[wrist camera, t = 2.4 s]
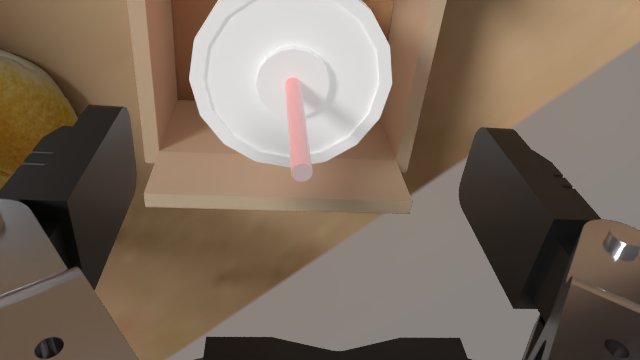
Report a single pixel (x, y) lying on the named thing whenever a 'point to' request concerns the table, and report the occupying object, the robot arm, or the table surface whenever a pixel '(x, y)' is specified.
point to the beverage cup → (291, 78)
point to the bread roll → (27, 111)
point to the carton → (267, 179)
